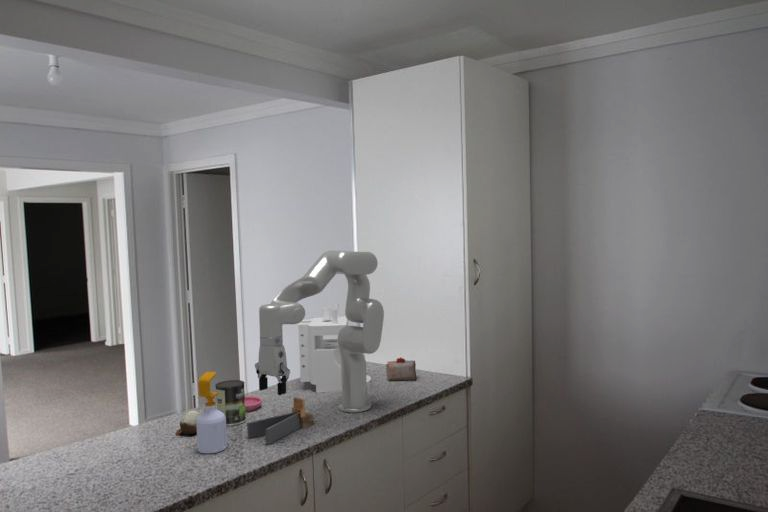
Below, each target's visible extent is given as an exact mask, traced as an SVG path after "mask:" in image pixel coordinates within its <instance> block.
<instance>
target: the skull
mask: <svg viewBox="0 0 768 512" xmlns="http://www.w3.org/2000/svg"><path fill="white" fill-rule="evenodd" d="M200 414H201V412H199V411H196V410H188V411H187V412H186V413H185V414H184V415H183V416H182V418H181V419H180V421H179V428H180V429H178V430H176V432H175V437H182V436H185V437H191V438H197V437H196V436H197V425H196V420H197V417H198V416H199V415H200Z"/></svg>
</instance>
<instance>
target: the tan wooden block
mask: <svg viewBox="0 0 768 512" xmlns="http://www.w3.org/2000/svg"><path fill="white" fill-rule="evenodd" d="M305 401H306V400H305V398H301V397H296V396H295V397H293V406H292V407H291V413H292V412H297V413H300V418H302V417H304V416H305V412H306V403H305Z"/></svg>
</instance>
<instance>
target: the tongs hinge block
mask: <svg viewBox="0 0 768 512" xmlns="http://www.w3.org/2000/svg"><path fill="white" fill-rule="evenodd" d="M314 419H315V417H314V414H313V413H308V412H306V411H305V416H304V417H302V418H300V426H301V427H300V428H301V429H304V428H308V427H310V426H313V425H315V420H314Z"/></svg>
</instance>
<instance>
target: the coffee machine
mask: <svg viewBox="0 0 768 512" xmlns="http://www.w3.org/2000/svg"><path fill="white" fill-rule="evenodd" d="M321 309H322V316H320V317H313V318H311V319H303V320H302V321H301V322H300V323H298V324H297V325H298V342H299V343H298V346H299V347H298V348H299V349H298V350H299V352H298V354H299V375H300V383H310V384H311V385H315V388H316V389H315V392H316V394H320V393H321V392H326V393H342V373H341V355H340V350H339V346H338V338H331V339H330V338H329V339H327V338H326V339H325V338H324V336H338V333H339V331H340V330H341V329H342V328H343V327H346V326H349V320H348V319H347V318H346V316H345V315H344V316H340V304H339V303H333V308H332V307H331V306H330V305H329V306H322V308H321ZM366 381H367V386H368V387H370V386H371V385H370V384H372V378H371V376H370V375H369V374H368V375H367V374H366ZM369 385H370V386H369ZM321 394H322V393H321Z"/></svg>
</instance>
